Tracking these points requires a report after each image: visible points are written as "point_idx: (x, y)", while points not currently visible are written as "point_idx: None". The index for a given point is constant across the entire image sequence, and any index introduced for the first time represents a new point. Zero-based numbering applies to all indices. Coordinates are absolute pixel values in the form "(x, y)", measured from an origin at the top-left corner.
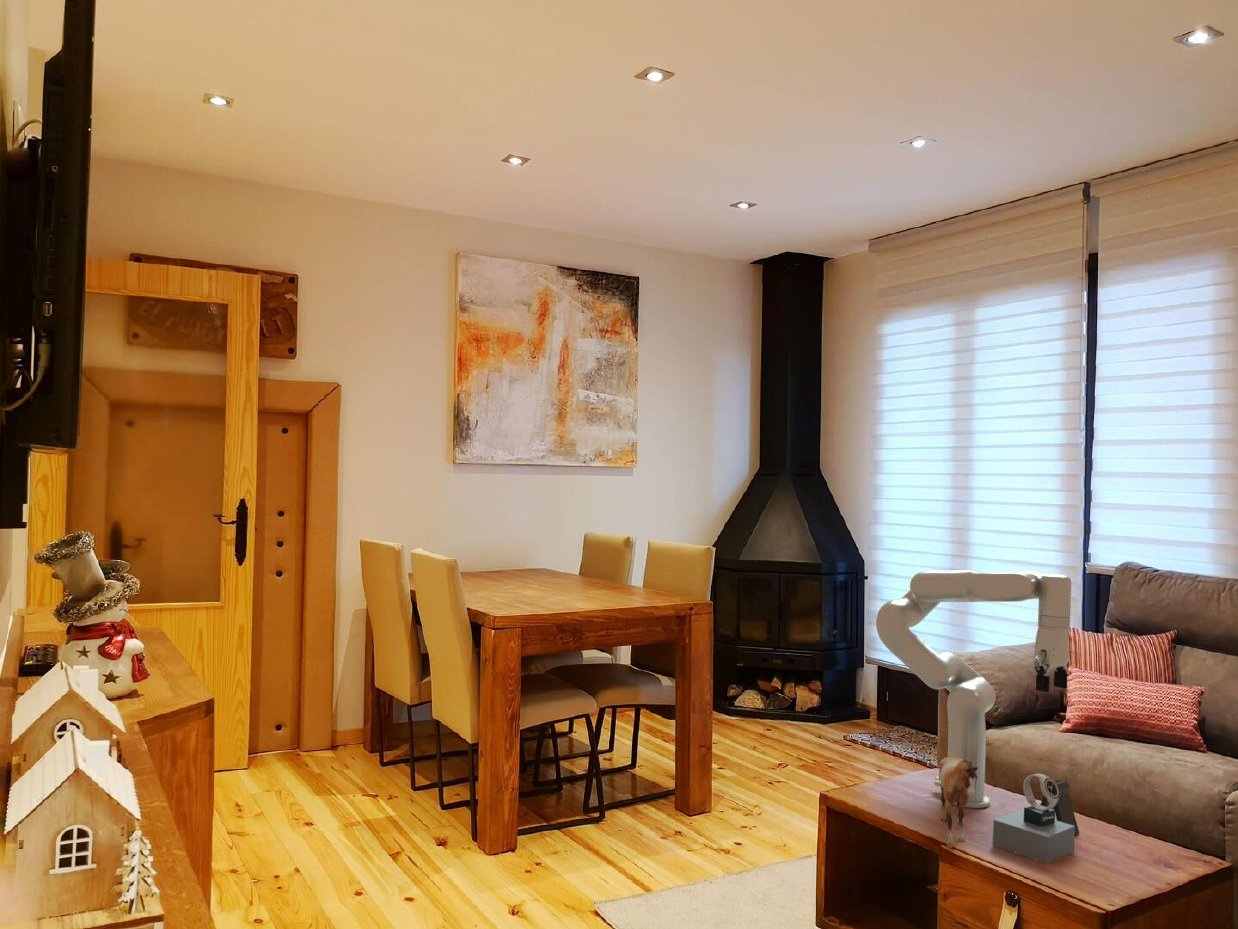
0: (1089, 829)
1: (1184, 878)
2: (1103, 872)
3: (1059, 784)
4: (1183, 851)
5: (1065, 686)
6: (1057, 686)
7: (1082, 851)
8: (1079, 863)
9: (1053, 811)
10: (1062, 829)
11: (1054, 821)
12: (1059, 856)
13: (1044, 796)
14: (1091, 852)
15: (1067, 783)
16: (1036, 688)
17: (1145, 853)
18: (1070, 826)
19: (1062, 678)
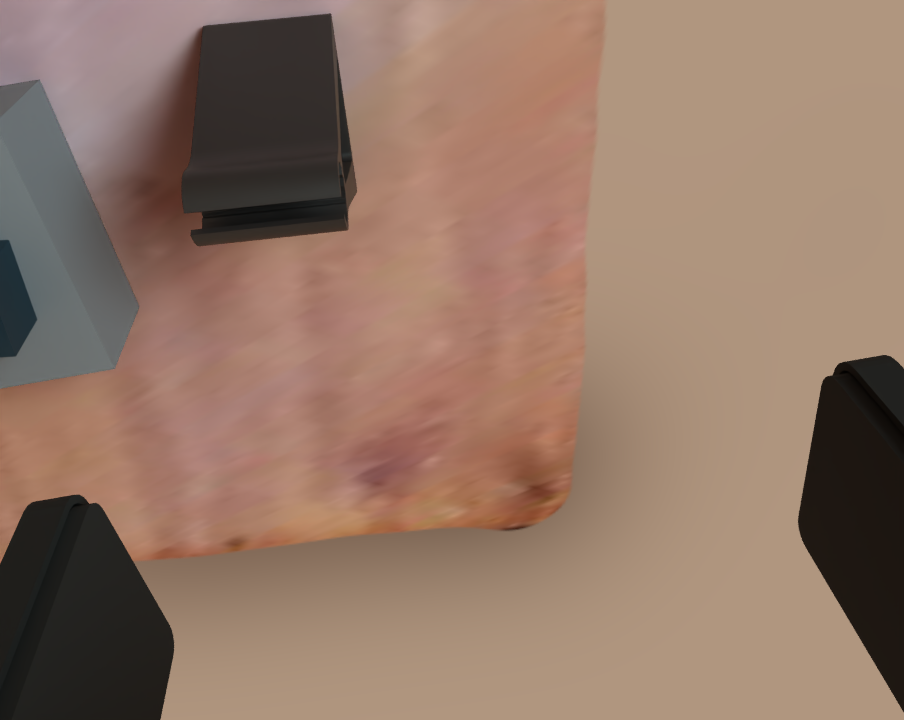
0: (464, 167)
1: (325, 536)
2: (92, 446)
3: (255, 237)
4: (566, 428)
5: (818, 553)
6: (819, 426)
7: (186, 312)
8: (66, 377)
9: (3, 354)
10: (13, 377)
11: (31, 325)
12: None
13: (192, 153)
14: (215, 330)
15: (342, 230)
16: (27, 525)
17: (416, 398)
18: (87, 366)
19: (900, 642)
